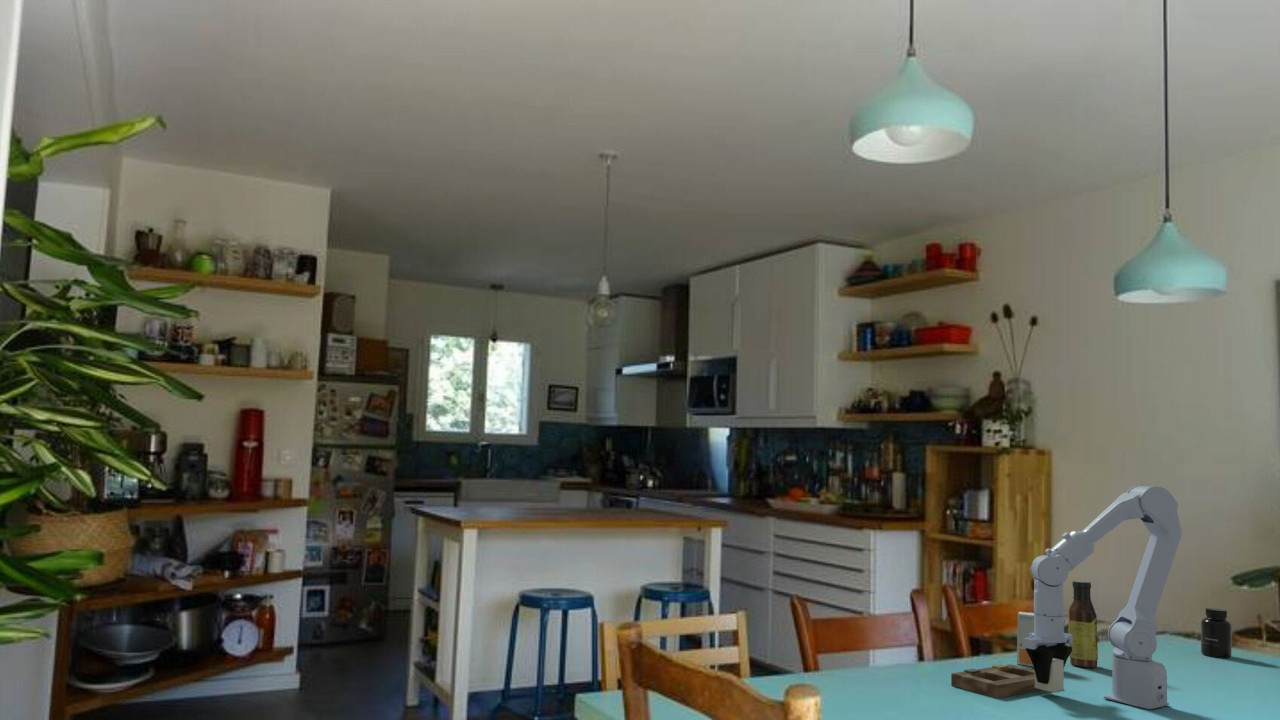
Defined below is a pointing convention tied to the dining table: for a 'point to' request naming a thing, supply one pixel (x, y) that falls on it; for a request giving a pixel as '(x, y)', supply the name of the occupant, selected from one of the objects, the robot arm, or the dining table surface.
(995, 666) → the brass tag
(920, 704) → the dining table surface
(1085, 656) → the sauce bottle
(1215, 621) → the supplement bottle
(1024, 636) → the skincare box
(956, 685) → the socket board
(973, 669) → the grey tag
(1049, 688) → the plug
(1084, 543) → the robot arm
